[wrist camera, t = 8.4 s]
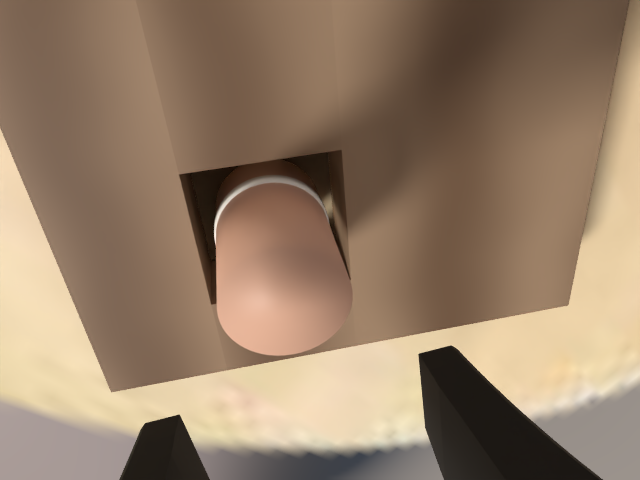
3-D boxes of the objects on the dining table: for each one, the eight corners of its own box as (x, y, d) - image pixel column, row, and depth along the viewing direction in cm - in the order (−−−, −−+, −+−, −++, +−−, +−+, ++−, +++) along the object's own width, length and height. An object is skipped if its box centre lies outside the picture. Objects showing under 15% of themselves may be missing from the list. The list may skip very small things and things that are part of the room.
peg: (302, 132, 17) (340, 226, 12) (324, 220, 19) (365, 335, 14) (199, 160, 17) (194, 268, 12) (231, 246, 19) (239, 372, 14)
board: (585, -86, 15) (646, -86, 13) (532, 266, 21) (568, 305, 19) (-15, -19, 13) (-56, -6, 11) (121, 341, 20) (111, 392, 18)
